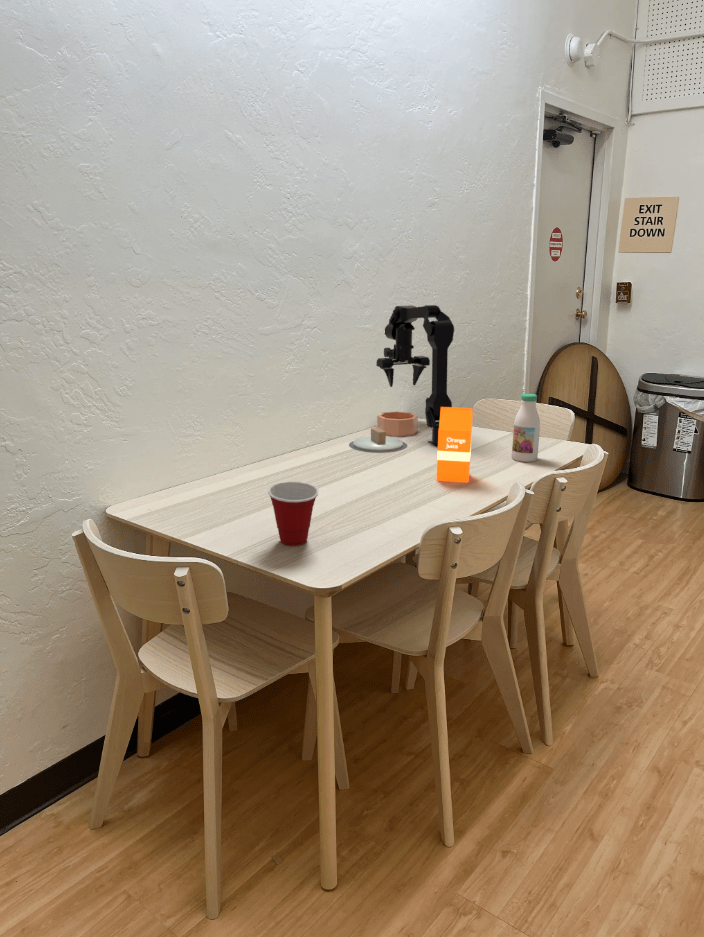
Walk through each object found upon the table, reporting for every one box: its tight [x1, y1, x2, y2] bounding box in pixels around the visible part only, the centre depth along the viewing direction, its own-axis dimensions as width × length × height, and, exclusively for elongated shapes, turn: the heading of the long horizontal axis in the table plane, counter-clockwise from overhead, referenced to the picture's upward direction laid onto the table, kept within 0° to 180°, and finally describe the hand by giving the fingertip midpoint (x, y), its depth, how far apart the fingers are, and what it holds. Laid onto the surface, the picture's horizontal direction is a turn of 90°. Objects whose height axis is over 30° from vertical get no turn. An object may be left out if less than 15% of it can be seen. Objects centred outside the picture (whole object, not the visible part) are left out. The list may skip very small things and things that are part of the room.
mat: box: [348, 440, 408, 454], centre depth 232 cm, size 19×19×1 cm
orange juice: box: [436, 406, 473, 483], centre depth 197 cm, size 8×9×20 cm
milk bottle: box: [511, 393, 541, 463], centre depth 215 cm, size 8×8×20 cm
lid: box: [353, 427, 404, 451], centre depth 231 cm, size 16×16×5 cm
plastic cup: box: [267, 481, 319, 547], centre depth 153 cm, size 11×11×12 cm
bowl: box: [376, 410, 419, 438], centre depth 249 cm, size 13×13×6 cm
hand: (402, 385), depth 255 cm, fingers open, 9 cm apart
